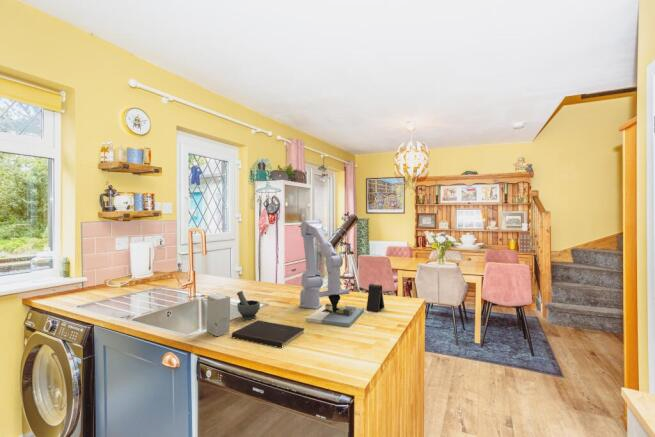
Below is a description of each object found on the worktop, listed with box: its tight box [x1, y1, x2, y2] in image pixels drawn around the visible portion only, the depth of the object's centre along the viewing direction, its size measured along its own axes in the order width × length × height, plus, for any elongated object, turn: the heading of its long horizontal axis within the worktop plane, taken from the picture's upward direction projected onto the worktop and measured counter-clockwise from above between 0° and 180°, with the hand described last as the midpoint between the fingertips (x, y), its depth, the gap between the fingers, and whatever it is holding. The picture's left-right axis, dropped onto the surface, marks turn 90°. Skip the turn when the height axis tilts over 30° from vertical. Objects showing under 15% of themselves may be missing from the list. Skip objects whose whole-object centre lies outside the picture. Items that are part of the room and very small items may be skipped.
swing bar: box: [325, 303, 352, 315], centre depth 147 cm, size 14×3×2 cm, turn 52°
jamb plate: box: [305, 304, 333, 324], centre depth 148 cm, size 7×22×2 cm, turn 158°
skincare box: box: [205, 293, 231, 337], centre depth 127 cm, size 8×6×15 cm
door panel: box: [322, 304, 364, 328], centre depth 144 cm, size 12×22×3 cm, turn 158°
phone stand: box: [365, 283, 385, 313], centre depth 157 cm, size 9×6×12 cm, turn 149°
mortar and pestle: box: [236, 290, 261, 321], centre depth 144 cm, size 11×9×12 cm
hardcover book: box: [231, 319, 305, 349], centre depth 124 cm, size 16×23×2 cm
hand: (334, 311), depth 145 cm, fingers closed, pressing on swing bar
